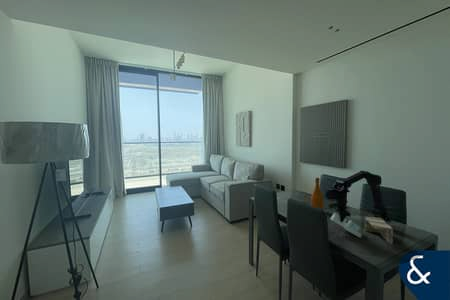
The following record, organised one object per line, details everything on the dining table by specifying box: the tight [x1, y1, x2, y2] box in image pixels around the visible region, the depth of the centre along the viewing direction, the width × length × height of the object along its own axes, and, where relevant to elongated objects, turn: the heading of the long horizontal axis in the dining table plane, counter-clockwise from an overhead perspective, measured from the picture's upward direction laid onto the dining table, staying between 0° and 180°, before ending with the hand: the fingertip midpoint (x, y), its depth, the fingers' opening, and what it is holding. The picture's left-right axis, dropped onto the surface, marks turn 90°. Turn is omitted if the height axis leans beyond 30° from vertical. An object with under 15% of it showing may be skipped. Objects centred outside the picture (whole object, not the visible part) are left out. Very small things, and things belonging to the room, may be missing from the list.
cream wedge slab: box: [364, 216, 394, 246], centre depth 123 cm, size 16×9×10 cm, turn 161°
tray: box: [330, 212, 363, 238], centre depth 129 cm, size 12×18×6 cm, turn 84°
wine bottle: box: [310, 177, 324, 211], centre depth 167 cm, size 10×10×30 cm
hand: (340, 221), depth 129 cm, fingers closed on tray, 3 cm apart
